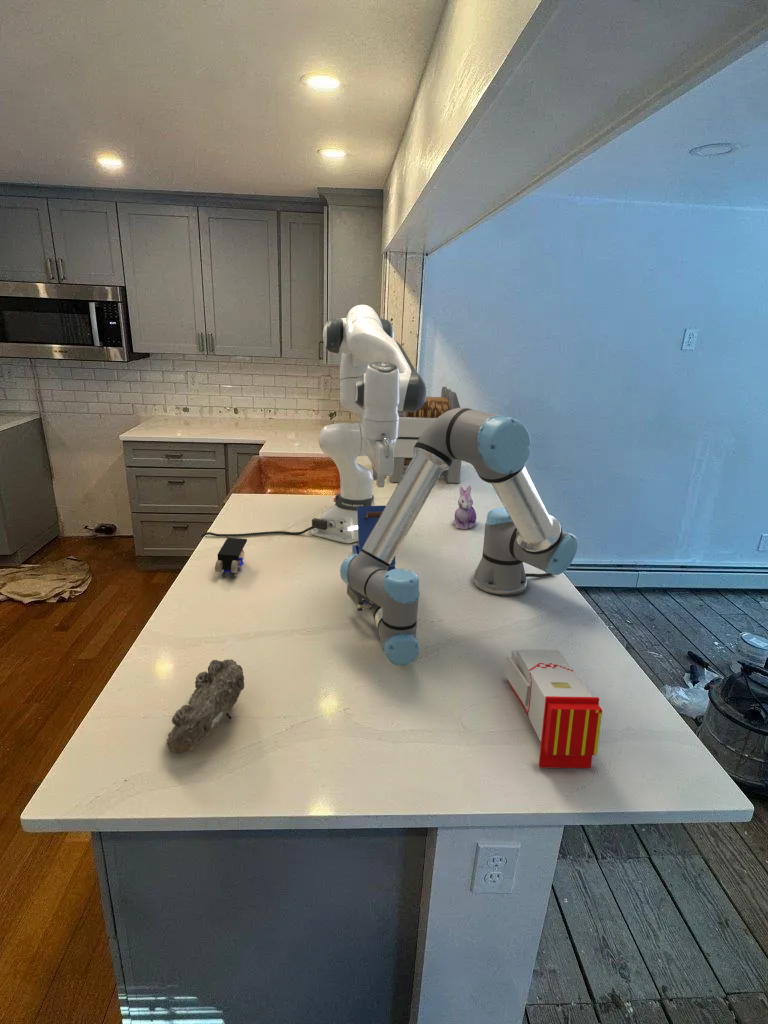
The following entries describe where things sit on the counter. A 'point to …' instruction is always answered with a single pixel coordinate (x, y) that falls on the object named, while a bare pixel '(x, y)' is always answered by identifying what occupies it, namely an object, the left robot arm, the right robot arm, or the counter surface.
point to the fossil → (206, 705)
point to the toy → (556, 707)
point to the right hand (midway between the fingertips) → (374, 574)
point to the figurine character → (230, 556)
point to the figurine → (465, 510)
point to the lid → (368, 523)
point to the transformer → (416, 425)
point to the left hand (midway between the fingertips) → (378, 483)
